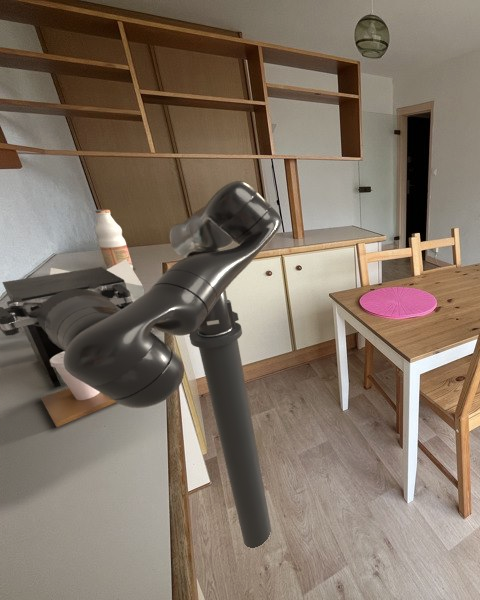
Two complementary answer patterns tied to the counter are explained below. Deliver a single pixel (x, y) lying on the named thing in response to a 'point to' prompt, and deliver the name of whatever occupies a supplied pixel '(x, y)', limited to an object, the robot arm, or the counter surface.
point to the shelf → (47, 288)
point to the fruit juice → (111, 240)
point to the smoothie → (72, 379)
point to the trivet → (72, 406)
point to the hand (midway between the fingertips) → (57, 295)
